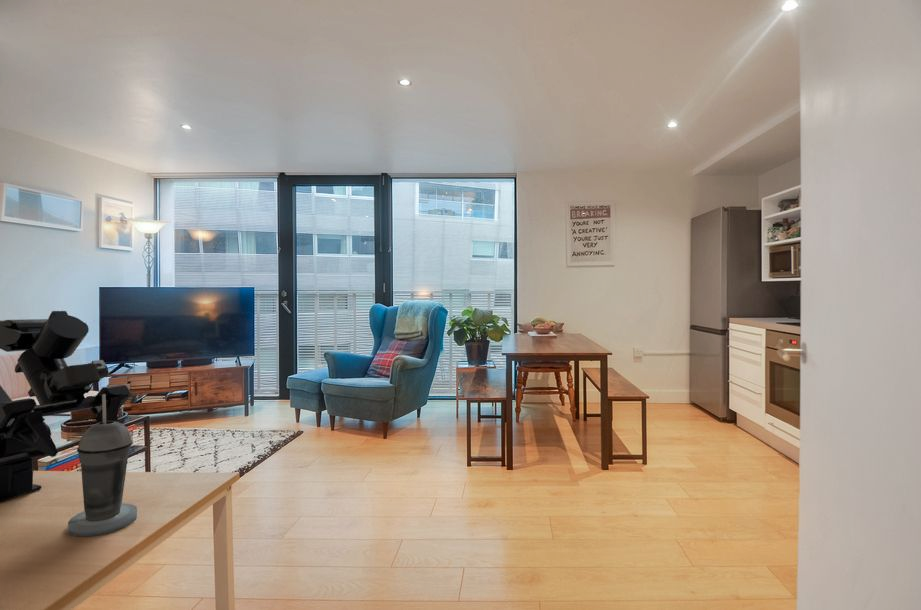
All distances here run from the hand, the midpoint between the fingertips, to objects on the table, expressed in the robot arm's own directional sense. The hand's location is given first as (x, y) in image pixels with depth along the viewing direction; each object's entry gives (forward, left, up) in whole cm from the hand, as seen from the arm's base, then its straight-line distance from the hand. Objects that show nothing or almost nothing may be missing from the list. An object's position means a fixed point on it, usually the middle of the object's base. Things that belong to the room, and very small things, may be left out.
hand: (87, 446), depth 76 cm
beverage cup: (+5, 0, -11) cm, 12 cm away
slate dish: (+5, 0, -12) cm, 13 cm away
